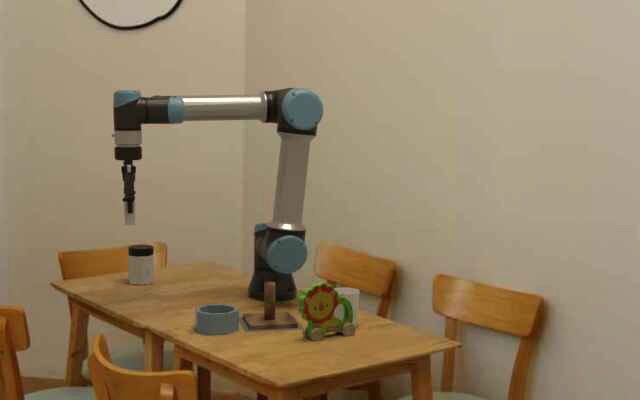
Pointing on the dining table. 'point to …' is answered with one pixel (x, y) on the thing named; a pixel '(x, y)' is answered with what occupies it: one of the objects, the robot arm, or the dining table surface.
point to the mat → (266, 329)
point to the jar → (141, 264)
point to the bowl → (217, 319)
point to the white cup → (353, 298)
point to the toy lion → (324, 312)
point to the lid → (269, 314)
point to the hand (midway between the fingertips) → (129, 221)
